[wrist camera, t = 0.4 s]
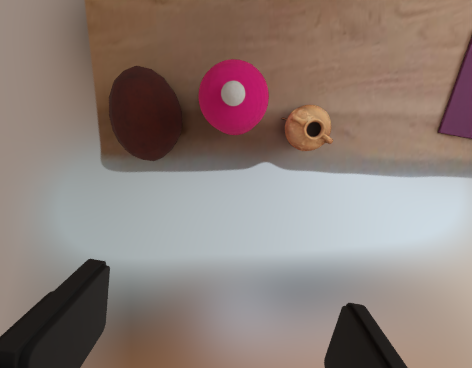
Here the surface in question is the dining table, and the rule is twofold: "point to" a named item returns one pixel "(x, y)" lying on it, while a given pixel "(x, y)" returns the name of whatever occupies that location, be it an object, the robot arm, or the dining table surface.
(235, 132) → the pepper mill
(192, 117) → the dining table surface
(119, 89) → the dark brown egg
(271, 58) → the dining table surface
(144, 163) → the dining table surface
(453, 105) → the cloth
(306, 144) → the pot
